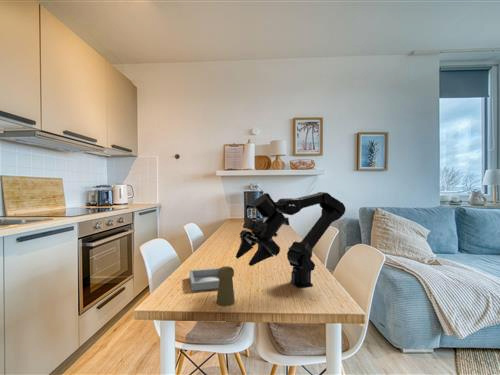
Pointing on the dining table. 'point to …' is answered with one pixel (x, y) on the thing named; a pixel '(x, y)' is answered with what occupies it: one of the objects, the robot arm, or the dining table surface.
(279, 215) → the robot arm
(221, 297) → the cork
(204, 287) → the walled pen
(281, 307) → the dining table surface
